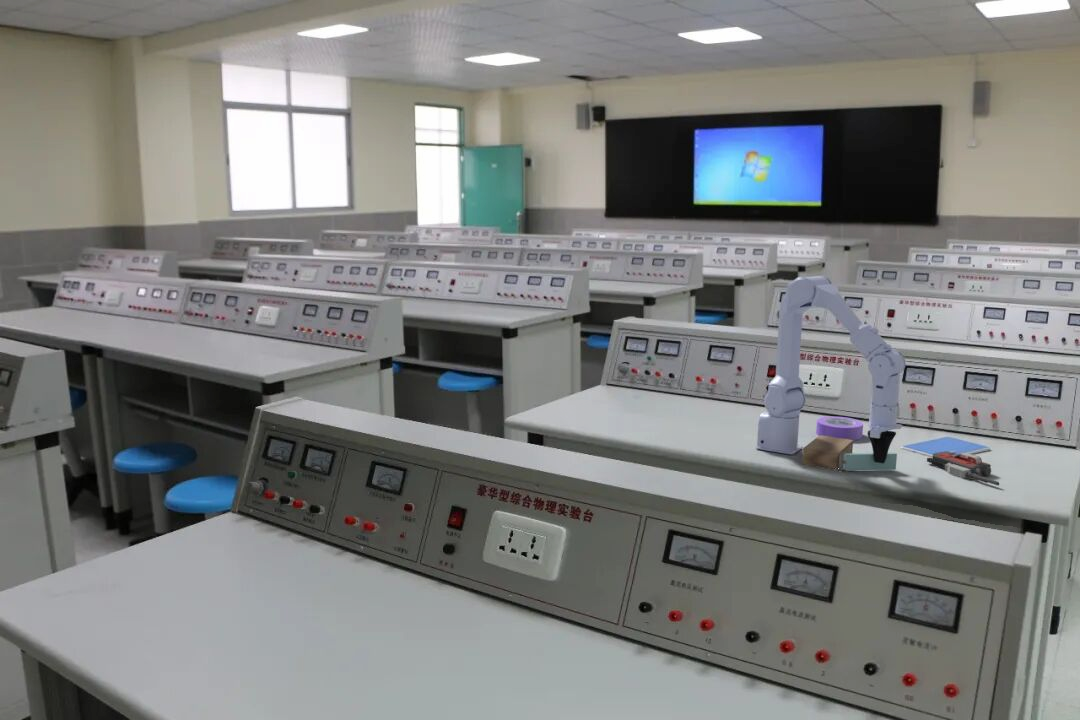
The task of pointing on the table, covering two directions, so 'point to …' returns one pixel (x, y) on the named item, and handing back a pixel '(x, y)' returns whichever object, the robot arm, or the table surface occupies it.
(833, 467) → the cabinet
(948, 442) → the tablet computer
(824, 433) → the masking tape
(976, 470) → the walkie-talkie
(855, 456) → the pale teal rectangular panel
